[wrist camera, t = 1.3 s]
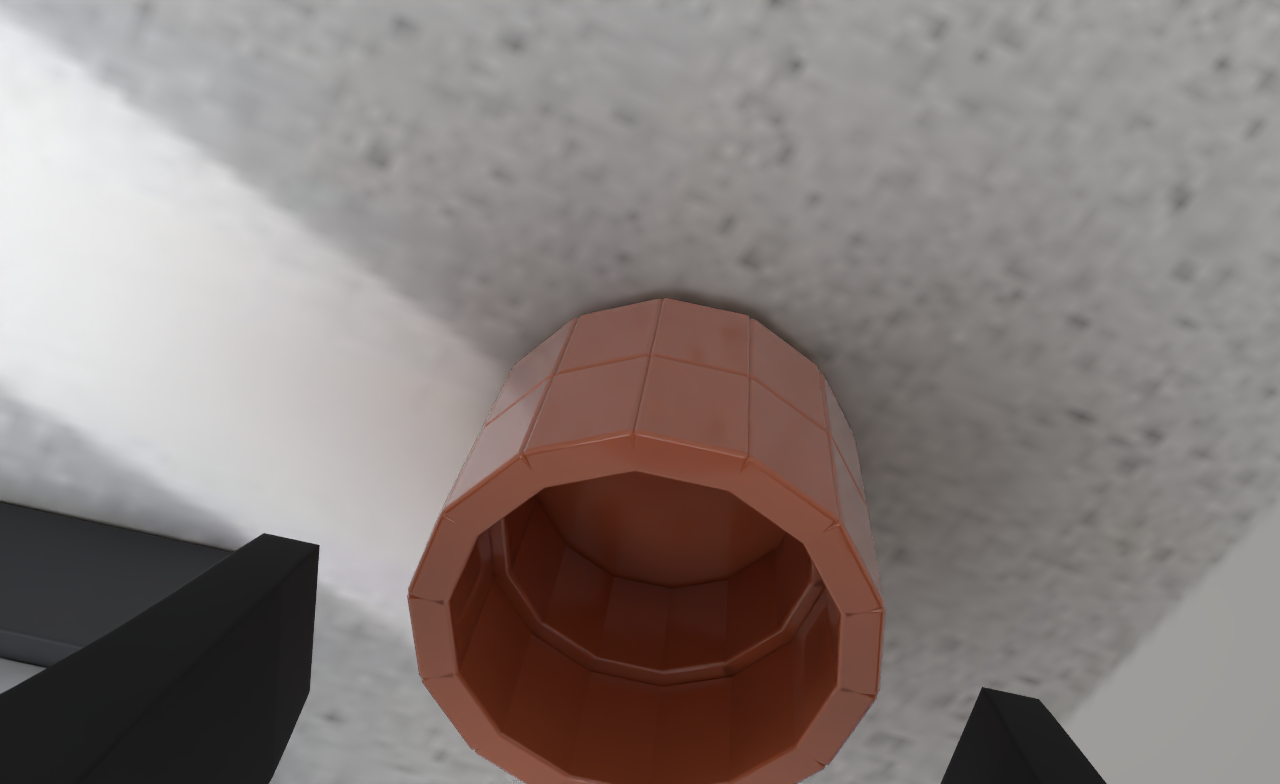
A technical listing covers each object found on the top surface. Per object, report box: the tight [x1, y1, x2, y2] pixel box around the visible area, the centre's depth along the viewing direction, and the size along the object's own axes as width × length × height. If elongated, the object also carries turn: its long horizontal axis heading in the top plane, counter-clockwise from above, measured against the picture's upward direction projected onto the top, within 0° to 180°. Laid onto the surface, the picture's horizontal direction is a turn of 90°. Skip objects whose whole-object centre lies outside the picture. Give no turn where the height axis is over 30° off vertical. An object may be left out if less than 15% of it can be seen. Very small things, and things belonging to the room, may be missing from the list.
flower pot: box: [407, 298, 886, 784], centre depth 14 cm, size 5×6×4 cm
